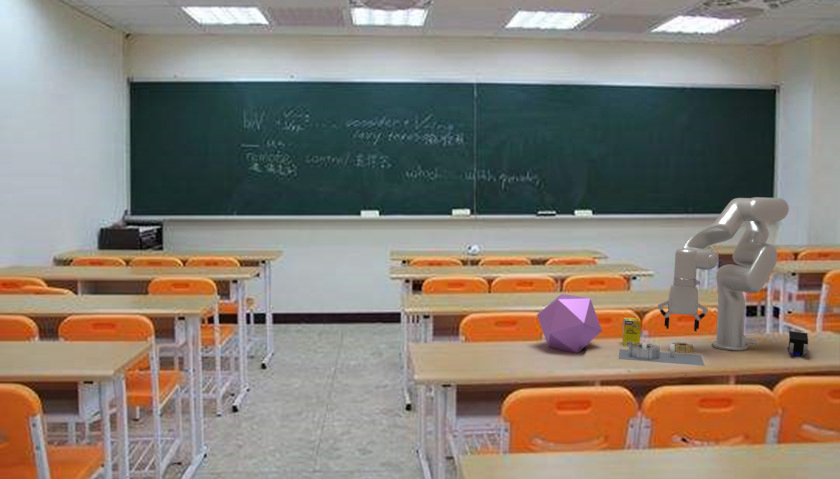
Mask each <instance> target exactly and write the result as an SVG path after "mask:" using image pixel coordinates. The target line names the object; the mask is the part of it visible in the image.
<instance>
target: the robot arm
mask: <svg viewBox="0 0 840 479" xmlns="http://www.w3.org/2000/svg"><path fill="white" fill-rule="evenodd" d="M789 207H790V206H789V204H788V202H787V200H785V199H783V198H781V197H759V196H755V197H751V198H750V197H737V198H733V199H731V200H730V202H729V203H728V204H727V205H726V206H725V207H724V209H723V210H722V212H721V213H720V214H719V215H718V216H717V218H716V219H715V221H714V222H713V223H712V224H710V225H708V226H707V227H705V228H703V229H702V230H700V231H698V232H697V233H695V234H694V235H692V236H691V237H690V238H689V239H688V240H687V242H685V244H684V245H683V247H682V248H679V249H676V251H675V257H674V268H673V269H674V270H673V272H674V274H673V284H672V285H671V286H670V288H669V293H668V300H666V301H664V302H661V303H659V304H658V305H657V307H658V311H659V312H660V314H661V315H663V317H664V327H665V328H666V329H667V330H668V329H669V326H670V316H671V315H672V314H675V315H687V316H688V315H689V316H693V317H694V318H695V319H694V321H693V322H694V324H693V331H694V332H697V331H698V330H700V321H701V320H702V319H703V318H704V317H705V316H706V315H707V313H709V308H707V307H705V306H704V305H702V304H700V303H699V293H698V287H697V286H698V285H700V284H701V281H700V280H698V279H697V270H698V269H699V270H705V271H708V270H713V269H715V267H717V265H718V263H719V262H720V261H719V256H718V254H717V252H715V251H714V250H712V249H709V248H707V247H710V246H712V245H716V244H719V243H723V242H726V241H728V240H729V241H730V240H731V239H733V238H734V236H735V235H736V234H737V232H738V231H739V230H740V228H742V226H743V224H744V223H745V230H744V231H743V232H744V233H743V234H742V235H741V237H740V240H739V241H738V243H737V245H736V246H735V248H734V251H733V253H732V260H733V262H734V263H736V264H730V263H729V264H724V265H721V266H720V267H719V268H718V270H717V272H716V285H717V296H718V297H717V315H716V316H717V321H716V322H717V323H716V340H714V341H712V342H711V346H712V347H714V348H715V349H721V350H724V351H734V352H735V351H739V352H740V351H746V350H748V347H749V345H754V346H755V345H757V346H758V339H753V338H748V337H746V336H745V318H746V315H745V314H746V313H745V312H746V299H745V296H744V294H743V292H744V293H748V294H756V293H759V292H760V291H761V290H762V289H763V288H764V286H765V285H766V283H767V282H768V279H769V277H770V276H771V274H772V272H773V271H774V269H775V267H776V264H777V263H778V262H777V261H778V250H777V248H776V247H775V246H774V245H772V244H770V243H767V241H768V239H769V228H768V226H767V225H766V224H767V223H766V222H779V221H782V220H784V219H785V218H786V217H787V216H788V214H789V210H790V208H789ZM664 307H667V311H665V310H664ZM699 309H701V310H702V312H701V313H700V314H699V315H698V312H699V311H698V310H699Z"/></svg>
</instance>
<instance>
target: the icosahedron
mask: <svg viewBox="0 0 840 479" xmlns="http://www.w3.org/2000/svg"><path fill="white" fill-rule="evenodd" d="M594 307H595V306H594V304H593V302H592V299H591V298H590V297H586V296H585V297H584V296H577V295H570V294H564V293H561V294H559V296H557V297H556V298H555V299H554V300H553V301H551V302H550V303H549V304H547V306H545V307H544V309H542V310H541V311H539V313H537V314H536V316H537V318H538V322H539V324H540V328H541V330H542V333H543V335H544V337H545V338H544V339H545V341H546V344H547V347H548V348H551V349H556V350H561V351H565V352H570V353H575V354H578V353H579V352H581V350H583V349H584V348H585V347H587V345H588V344H590V343H591V342H592V341H593V340H594V339H595V338H596V337H597V336H599V334H601V333H602V332H603V330H602V327H601V324H600V321H599V318H598V315H597V313H596V310H595V308H594Z"/></svg>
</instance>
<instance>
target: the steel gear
mask: <svg viewBox="0 0 840 479" xmlns="http://www.w3.org/2000/svg"><path fill="white" fill-rule="evenodd" d="M646 344H647V348H642V342H640V343H636V344H629V346H628V350H629V356H630V357H634V358H637V359H648V360H652V359H659V358H660V352H661V349H660V347H661V346H660V345H655V344H652V343H646Z"/></svg>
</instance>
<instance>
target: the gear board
mask: <svg viewBox="0 0 840 479" xmlns="http://www.w3.org/2000/svg"><path fill="white" fill-rule="evenodd" d="M641 343H642V342H641ZM647 344H648V343H646V342H643V343H642V348H647ZM618 360H627V361H638V362H640V361H641V362H651V363H664V364H665V363H667V364H676V365H677V364H678V365H679V364H680V365H690V366H691V365H692V366H701V367H702V366H704V367H705V363H704V360H703V357H702V355H701V354H693V353H691V354H690V353H678V352H676V351H675V344H672V343H670V346H669V352H662V351H660V358H659V359H652V360H648V359H637V358H634V357H630V356H629V349H625V348H624V349H622V348H621V349H620V348H619V352H618Z"/></svg>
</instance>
